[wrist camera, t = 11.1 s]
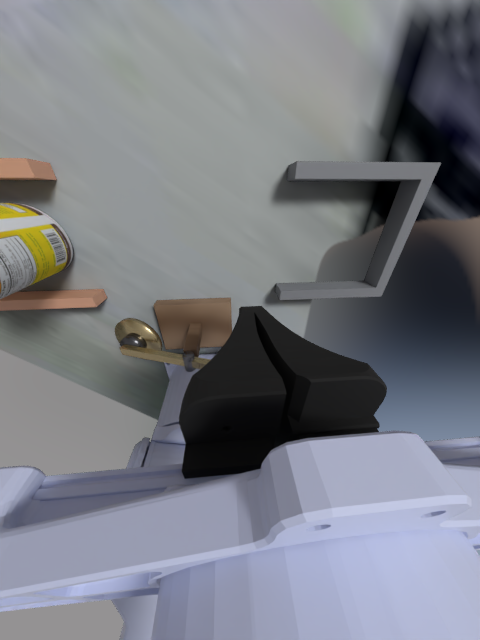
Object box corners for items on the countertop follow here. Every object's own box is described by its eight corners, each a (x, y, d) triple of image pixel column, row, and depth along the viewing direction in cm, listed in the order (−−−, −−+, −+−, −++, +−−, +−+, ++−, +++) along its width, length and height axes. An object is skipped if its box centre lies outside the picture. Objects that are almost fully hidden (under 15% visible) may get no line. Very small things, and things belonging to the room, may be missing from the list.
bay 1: (107, 297, 20) (96, 307, 18) (-6, 301, 19) (-28, 311, 17) (49, 163, 14) (26, 158, 12) (-117, 161, 13) (-167, 156, 12)
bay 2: (288, 165, 15) (297, 161, 13) (417, 166, 16) (440, 162, 14) (275, 292, 21) (279, 300, 19) (369, 288, 22) (381, 296, 20)
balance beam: (288, 382, 18) (288, 404, 16) (127, 352, 22) (111, 367, 20) (297, 342, 15) (297, 362, 13) (111, 315, 19) (90, 328, 17)
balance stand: (231, 339, 24) (234, 373, 20) (168, 343, 24) (155, 378, 19) (230, 297, 21) (232, 326, 16) (156, 300, 20) (137, 330, 16)
